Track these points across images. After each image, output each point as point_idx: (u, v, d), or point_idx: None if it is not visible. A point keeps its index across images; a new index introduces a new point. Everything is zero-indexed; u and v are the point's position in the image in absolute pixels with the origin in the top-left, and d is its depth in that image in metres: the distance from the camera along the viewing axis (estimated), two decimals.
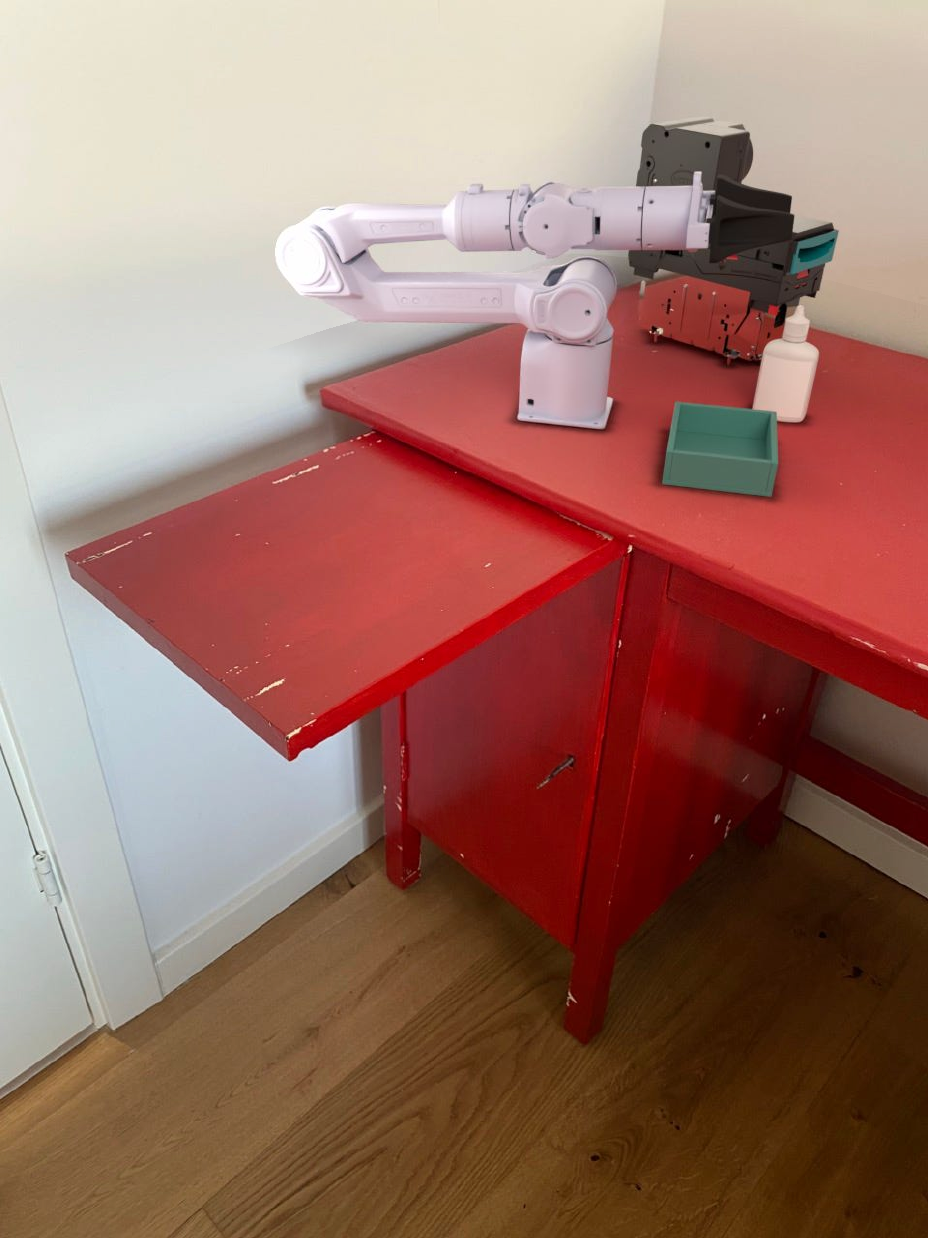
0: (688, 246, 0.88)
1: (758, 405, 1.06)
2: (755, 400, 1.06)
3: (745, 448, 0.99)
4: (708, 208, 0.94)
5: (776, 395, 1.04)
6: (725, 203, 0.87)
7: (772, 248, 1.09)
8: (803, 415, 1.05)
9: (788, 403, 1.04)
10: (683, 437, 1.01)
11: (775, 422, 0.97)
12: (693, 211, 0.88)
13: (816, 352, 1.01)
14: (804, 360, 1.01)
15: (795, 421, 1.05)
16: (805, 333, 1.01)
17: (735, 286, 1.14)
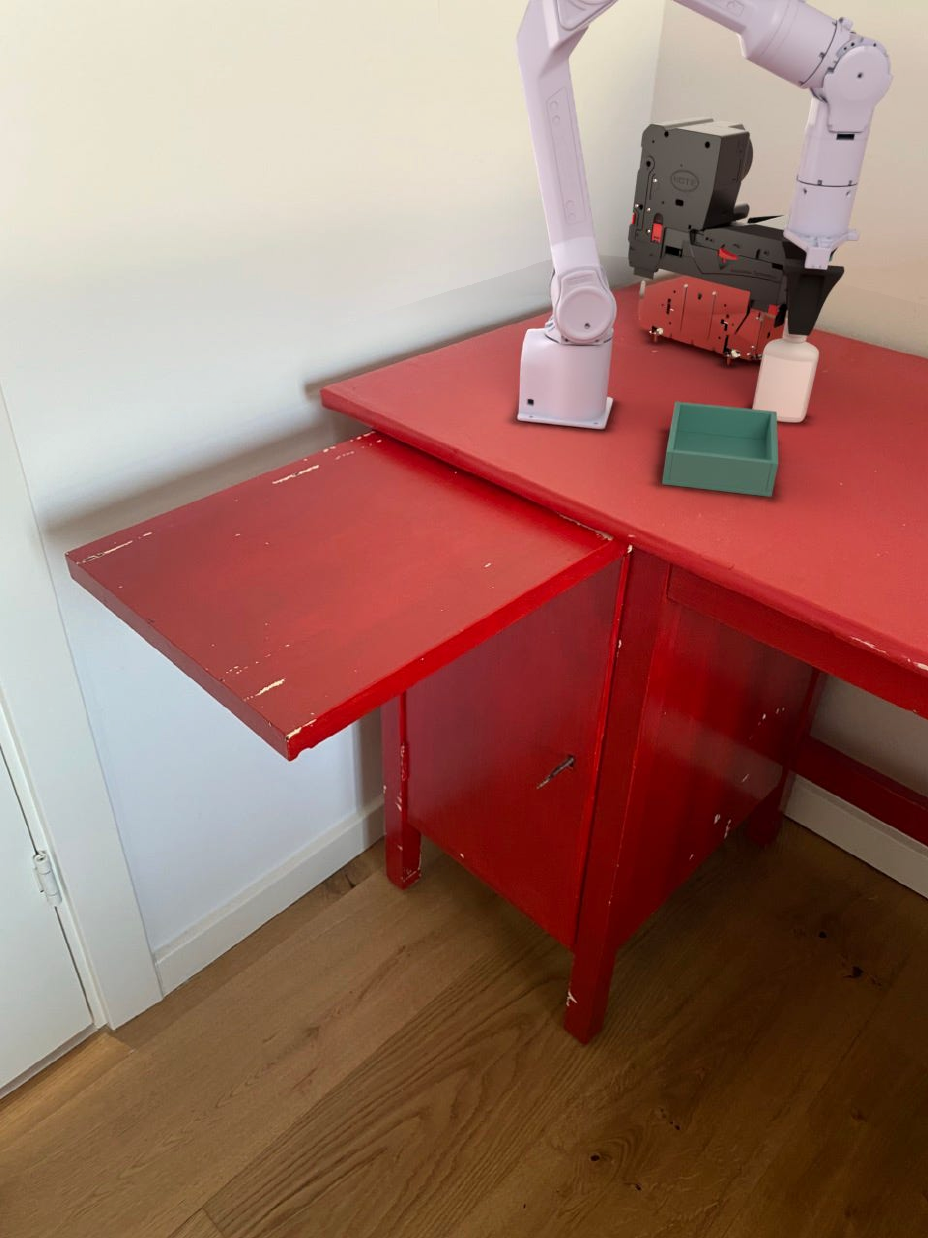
0: (810, 249, 0.90)
1: (758, 405, 1.06)
2: (755, 400, 1.06)
3: (745, 448, 0.99)
4: None
5: (776, 395, 1.04)
6: None
7: (772, 248, 1.09)
8: (803, 415, 1.05)
9: (788, 403, 1.04)
10: (683, 437, 1.01)
11: (775, 422, 0.97)
12: (835, 245, 0.92)
13: (816, 352, 1.01)
14: (804, 360, 1.01)
15: (795, 421, 1.05)
16: None
17: (735, 286, 1.14)
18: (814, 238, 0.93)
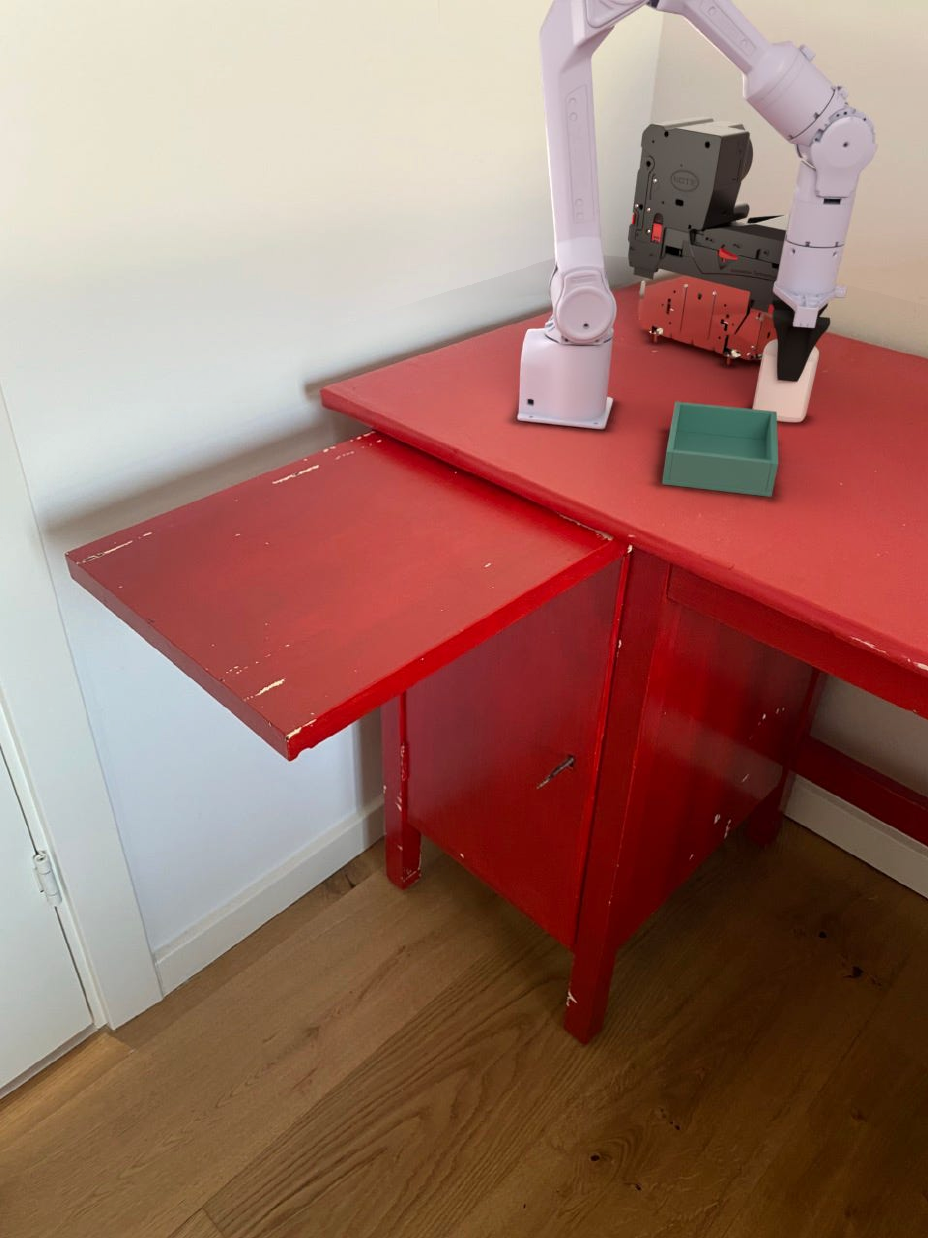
0: (798, 308, 0.93)
1: (758, 405, 1.06)
2: (755, 400, 1.06)
3: (745, 448, 0.99)
4: None
5: (776, 395, 1.04)
6: None
7: (772, 248, 1.09)
8: (803, 415, 1.05)
9: (788, 402, 1.04)
10: (683, 437, 1.01)
11: (775, 422, 0.97)
12: (822, 303, 0.95)
13: (816, 352, 1.01)
14: None
15: (795, 421, 1.05)
16: None
17: (735, 286, 1.14)
18: (802, 296, 0.96)
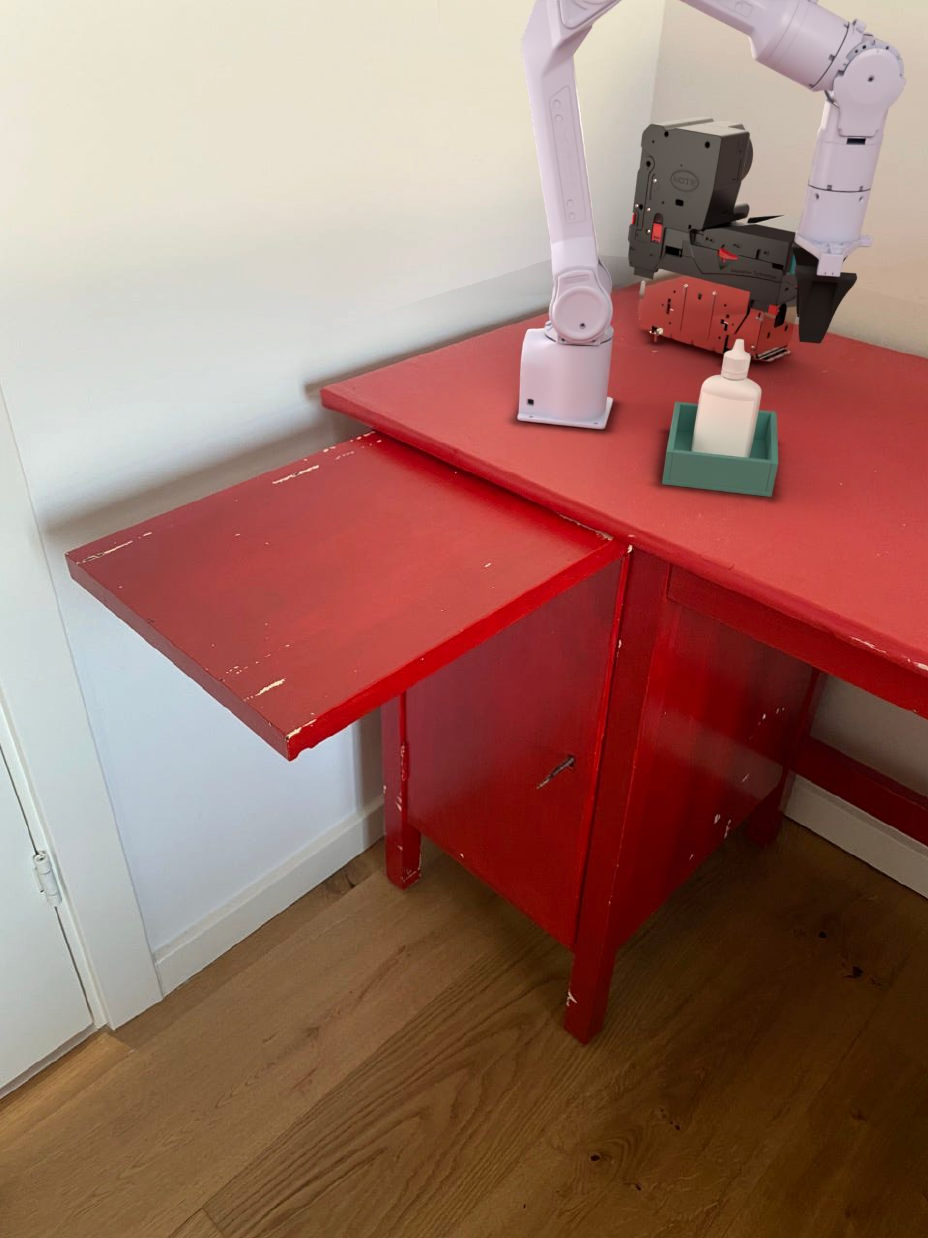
0: (823, 256, 0.88)
1: (697, 447, 0.96)
2: (693, 441, 0.96)
3: None
4: None
5: (715, 437, 0.94)
6: None
7: (772, 248, 1.09)
8: None
9: (729, 445, 0.94)
10: (683, 437, 1.01)
11: (775, 422, 0.97)
12: (848, 251, 0.90)
13: (758, 390, 0.91)
14: (744, 399, 0.91)
15: None
16: (745, 369, 0.91)
17: (735, 286, 1.14)
18: (826, 244, 0.91)
